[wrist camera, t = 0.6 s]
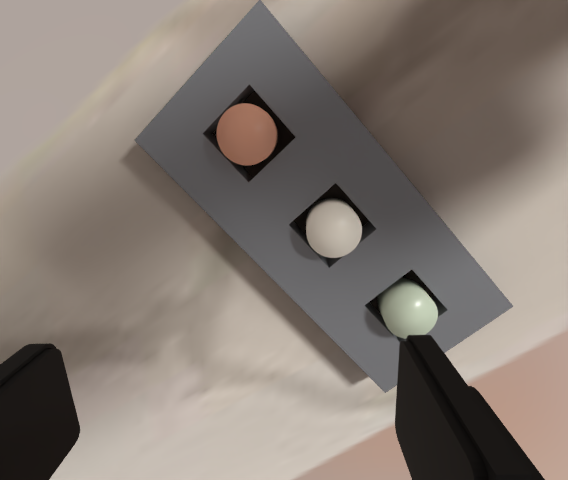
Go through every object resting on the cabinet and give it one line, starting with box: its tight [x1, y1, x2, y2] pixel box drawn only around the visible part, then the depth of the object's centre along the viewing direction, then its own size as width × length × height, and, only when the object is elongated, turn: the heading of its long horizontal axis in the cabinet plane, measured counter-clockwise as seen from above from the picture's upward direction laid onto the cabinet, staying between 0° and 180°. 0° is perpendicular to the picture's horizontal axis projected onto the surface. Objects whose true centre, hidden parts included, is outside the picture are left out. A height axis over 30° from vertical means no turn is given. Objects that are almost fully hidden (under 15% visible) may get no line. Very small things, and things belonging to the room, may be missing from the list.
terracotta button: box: [217, 103, 278, 165], centre depth 27 cm, size 4×4×3 cm
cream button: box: [306, 198, 362, 258], centre depth 28 cm, size 4×4×3 cm
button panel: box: [135, 0, 513, 393], centre depth 30 cm, size 14×32×3 cm, turn 43°
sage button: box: [377, 278, 438, 339], centre depth 30 cm, size 4×4×3 cm
